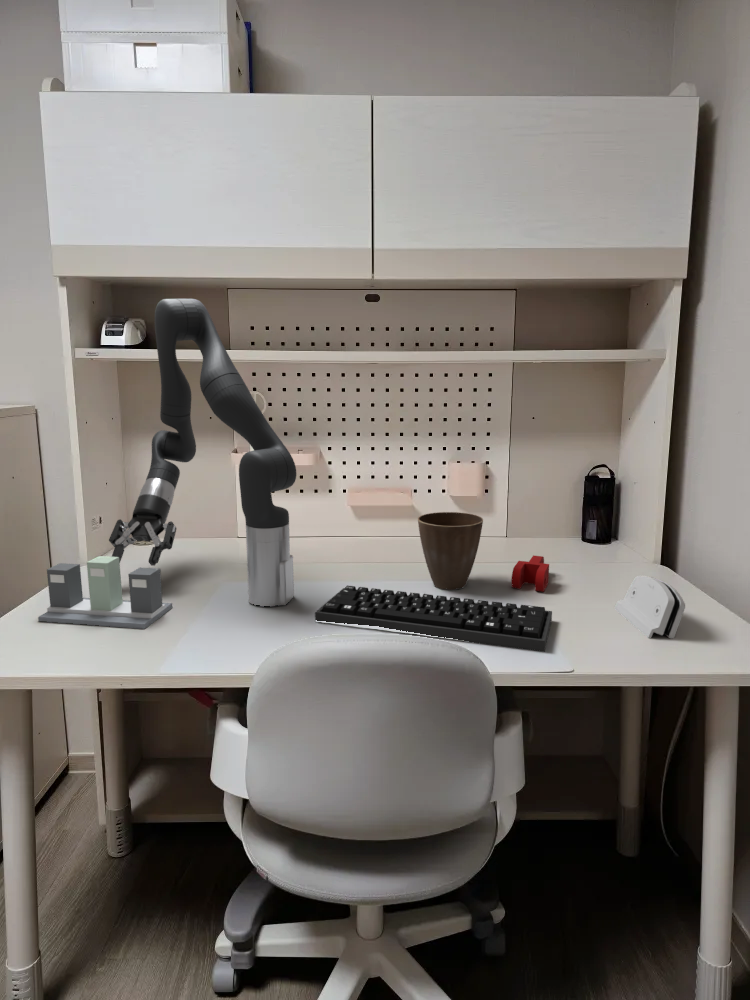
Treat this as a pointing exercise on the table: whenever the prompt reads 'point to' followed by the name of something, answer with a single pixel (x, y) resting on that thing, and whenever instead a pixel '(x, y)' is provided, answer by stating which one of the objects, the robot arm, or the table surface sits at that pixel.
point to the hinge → (652, 606)
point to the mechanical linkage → (531, 573)
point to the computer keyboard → (441, 617)
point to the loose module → (104, 583)
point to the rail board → (129, 614)
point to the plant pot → (450, 546)
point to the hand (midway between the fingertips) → (133, 563)
